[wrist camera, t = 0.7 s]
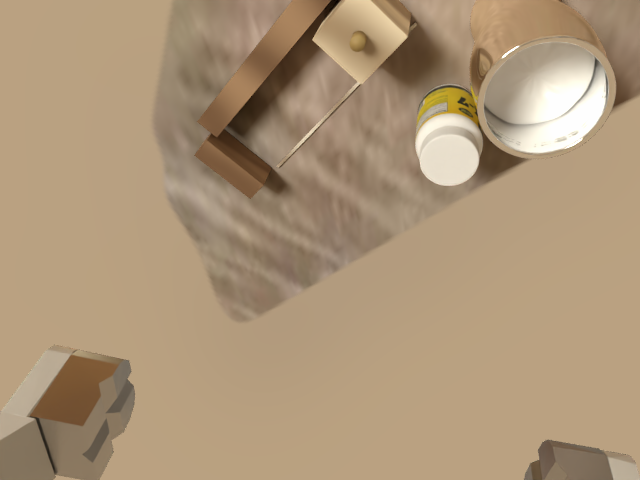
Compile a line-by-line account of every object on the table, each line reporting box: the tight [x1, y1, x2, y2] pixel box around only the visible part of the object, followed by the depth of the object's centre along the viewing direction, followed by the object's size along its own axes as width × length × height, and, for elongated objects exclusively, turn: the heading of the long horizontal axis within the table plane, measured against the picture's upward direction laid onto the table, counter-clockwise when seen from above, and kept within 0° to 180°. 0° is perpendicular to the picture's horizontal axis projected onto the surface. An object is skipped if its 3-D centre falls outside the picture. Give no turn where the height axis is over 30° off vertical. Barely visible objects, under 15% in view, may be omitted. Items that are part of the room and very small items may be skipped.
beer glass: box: [469, 0, 616, 159], centre depth 34 cm, size 7×7×15 cm
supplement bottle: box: [415, 84, 483, 186], centre depth 42 cm, size 5×5×8 cm
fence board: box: [194, 0, 417, 199], centre depth 45 cm, size 20×8×3 cm, turn 140°
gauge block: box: [312, 0, 411, 85], centre depth 39 cm, size 4×4×7 cm
